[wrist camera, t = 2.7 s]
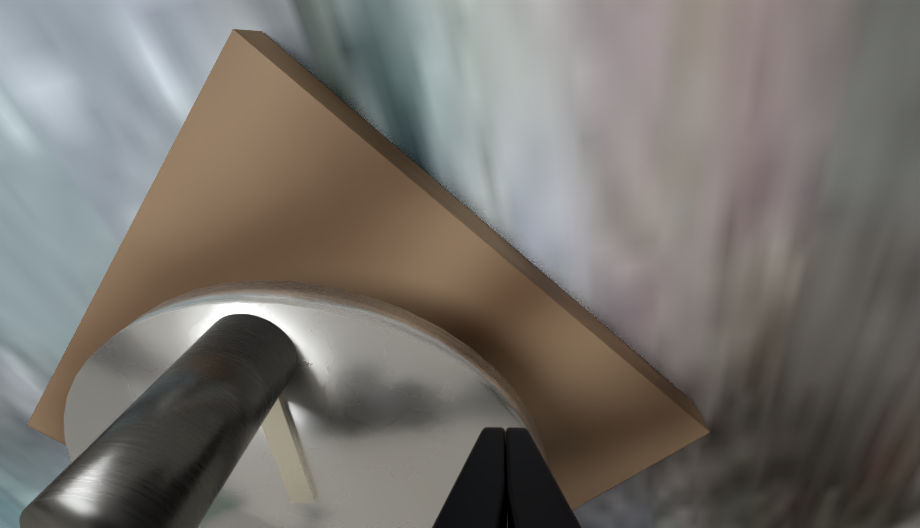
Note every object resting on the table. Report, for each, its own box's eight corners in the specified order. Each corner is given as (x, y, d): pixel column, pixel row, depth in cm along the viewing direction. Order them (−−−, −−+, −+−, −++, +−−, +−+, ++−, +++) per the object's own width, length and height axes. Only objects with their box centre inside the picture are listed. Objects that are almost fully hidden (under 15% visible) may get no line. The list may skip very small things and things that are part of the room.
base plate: (693, 402, 17) (711, 434, 16) (396, 582, 25) (390, 615, 23) (261, 31, 12) (231, 29, 11) (58, 399, 20) (24, 426, 18)
